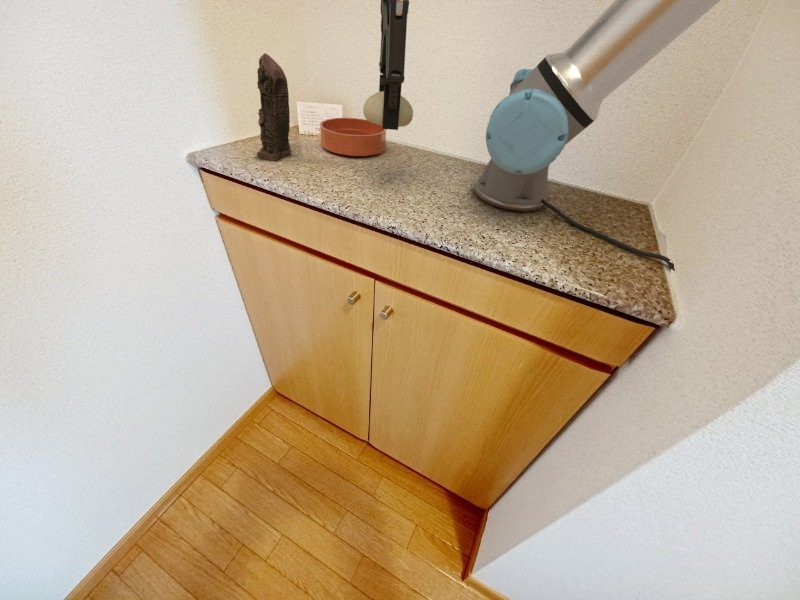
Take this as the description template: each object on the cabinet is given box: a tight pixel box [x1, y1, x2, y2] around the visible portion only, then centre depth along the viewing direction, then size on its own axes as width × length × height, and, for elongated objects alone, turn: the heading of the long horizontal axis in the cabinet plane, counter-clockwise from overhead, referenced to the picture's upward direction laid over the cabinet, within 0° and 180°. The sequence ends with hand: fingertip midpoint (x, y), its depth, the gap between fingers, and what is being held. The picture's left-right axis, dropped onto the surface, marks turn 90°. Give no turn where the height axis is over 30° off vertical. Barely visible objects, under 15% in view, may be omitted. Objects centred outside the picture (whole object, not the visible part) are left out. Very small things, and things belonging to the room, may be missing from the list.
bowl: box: [319, 117, 387, 157], centre depth 86 cm, size 17×17×6 cm
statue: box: [256, 52, 292, 162], centre depth 71 cm, size 7×7×20 cm
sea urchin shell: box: [362, 91, 414, 128], centre depth 59 cm, size 9×8×8 cm
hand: (387, 121), depth 60 cm, fingers closed on sea urchin shell, 9 cm apart
